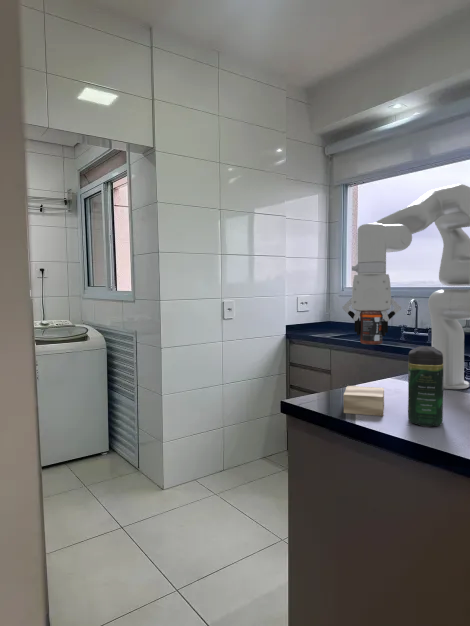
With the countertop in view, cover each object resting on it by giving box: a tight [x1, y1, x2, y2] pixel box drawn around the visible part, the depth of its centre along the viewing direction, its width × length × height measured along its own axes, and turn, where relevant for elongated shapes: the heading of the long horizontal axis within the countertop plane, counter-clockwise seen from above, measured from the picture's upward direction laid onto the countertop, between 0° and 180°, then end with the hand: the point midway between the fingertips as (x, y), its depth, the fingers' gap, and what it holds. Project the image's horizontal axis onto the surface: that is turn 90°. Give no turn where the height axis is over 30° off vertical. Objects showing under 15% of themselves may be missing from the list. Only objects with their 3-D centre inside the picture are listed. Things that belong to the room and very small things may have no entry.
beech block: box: [343, 385, 385, 417], centre depth 115 cm, size 10×10×5 cm
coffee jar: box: [407, 345, 444, 428], centre depth 103 cm, size 10×8×19 cm
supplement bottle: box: [359, 311, 384, 346], centre depth 115 cm, size 6×6×11 cm
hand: (371, 334), depth 115 cm, fingers closed on supplement bottle, 6 cm apart
